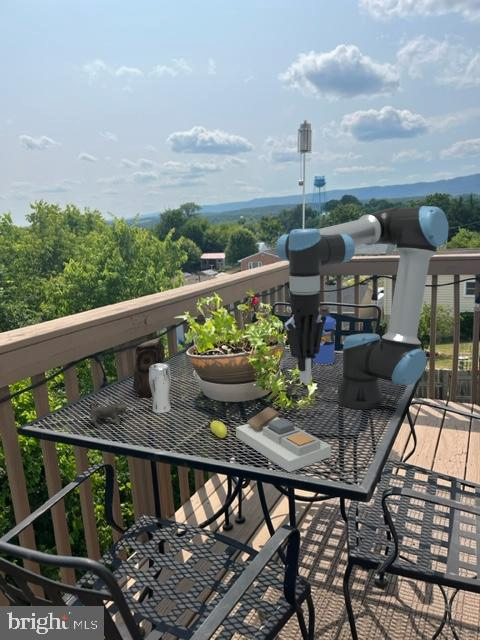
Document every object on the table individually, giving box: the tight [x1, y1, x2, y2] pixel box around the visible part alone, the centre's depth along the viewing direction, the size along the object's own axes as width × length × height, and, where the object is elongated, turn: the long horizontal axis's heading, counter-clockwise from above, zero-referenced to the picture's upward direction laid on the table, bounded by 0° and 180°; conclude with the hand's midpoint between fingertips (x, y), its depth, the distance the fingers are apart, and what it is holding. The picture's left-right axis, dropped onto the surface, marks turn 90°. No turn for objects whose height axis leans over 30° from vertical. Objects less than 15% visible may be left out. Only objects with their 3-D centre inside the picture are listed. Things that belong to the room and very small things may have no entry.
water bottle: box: [313, 305, 336, 364], centre depth 203 cm, size 9×9×25 cm
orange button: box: [287, 433, 314, 446], centre depth 123 cm, size 5×5×2 cm
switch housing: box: [235, 416, 332, 473], centre depth 130 cm, size 14×24×5 cm, turn 33°
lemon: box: [210, 420, 228, 439], centre depth 138 cm, size 4×8×4 cm, turn 21°
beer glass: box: [149, 362, 172, 414], centre depth 156 cm, size 7×7×15 cm
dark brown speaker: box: [132, 336, 166, 399], centre depth 170 cm, size 13×13×20 cm
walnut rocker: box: [247, 406, 280, 430], centre depth 136 cm, size 8×5×1 cm, turn 123°
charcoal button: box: [268, 417, 295, 435], centre depth 129 cm, size 5×5×2 cm
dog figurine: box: [88, 402, 130, 429], centre depth 147 cm, size 12×6×7 cm, turn 109°
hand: (305, 381), depth 123 cm, fingers closed
